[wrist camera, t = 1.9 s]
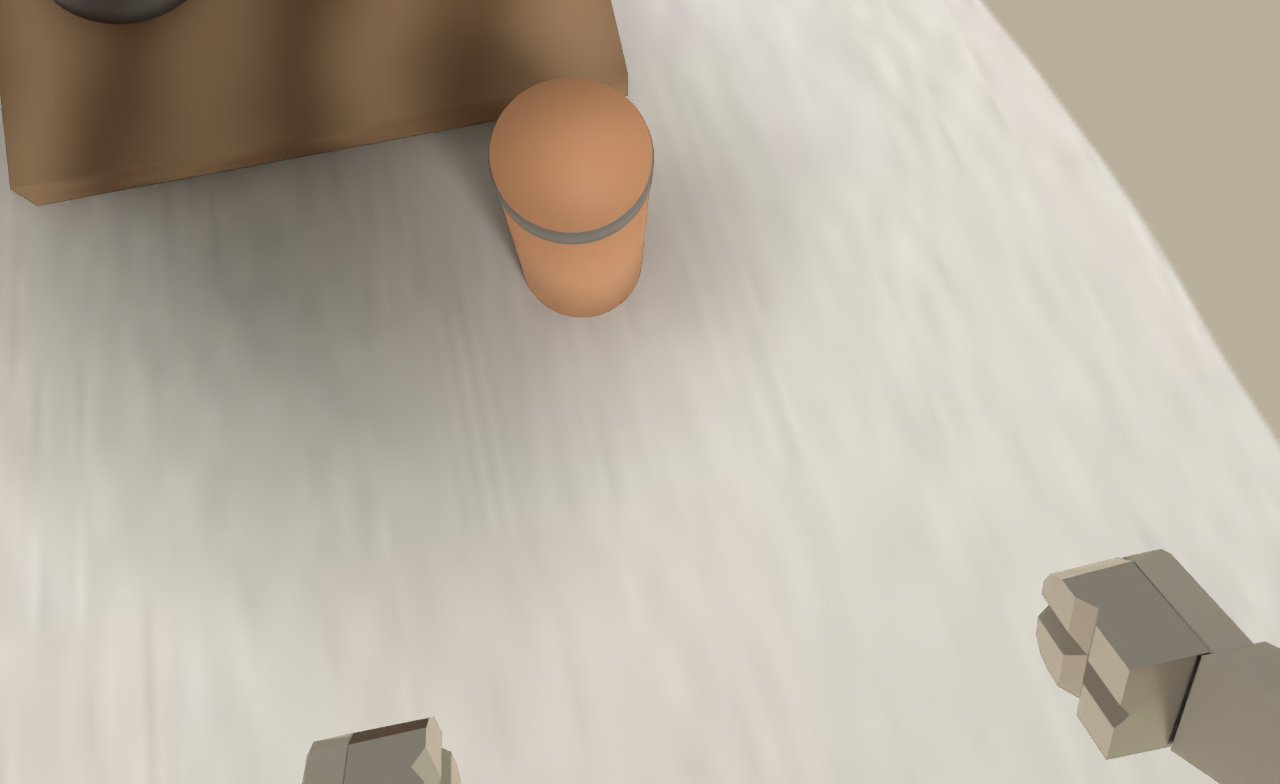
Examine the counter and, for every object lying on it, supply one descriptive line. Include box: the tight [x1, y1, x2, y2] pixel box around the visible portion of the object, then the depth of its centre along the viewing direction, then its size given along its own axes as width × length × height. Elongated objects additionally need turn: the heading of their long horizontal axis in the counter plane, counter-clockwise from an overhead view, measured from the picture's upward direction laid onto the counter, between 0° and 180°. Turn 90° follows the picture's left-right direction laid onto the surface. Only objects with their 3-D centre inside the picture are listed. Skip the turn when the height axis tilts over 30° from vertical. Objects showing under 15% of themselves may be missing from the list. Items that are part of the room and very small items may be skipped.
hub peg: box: [488, 77, 654, 317], centre depth 29 cm, size 4×4×9 cm
